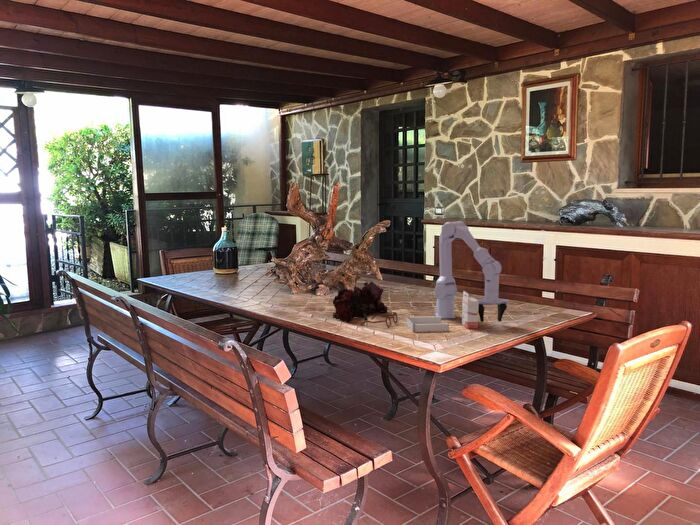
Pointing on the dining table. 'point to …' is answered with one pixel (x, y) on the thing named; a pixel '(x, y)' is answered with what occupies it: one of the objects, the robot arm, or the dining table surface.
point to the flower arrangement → (358, 302)
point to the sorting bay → (426, 324)
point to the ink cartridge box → (469, 311)
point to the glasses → (384, 320)
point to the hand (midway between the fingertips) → (490, 321)
